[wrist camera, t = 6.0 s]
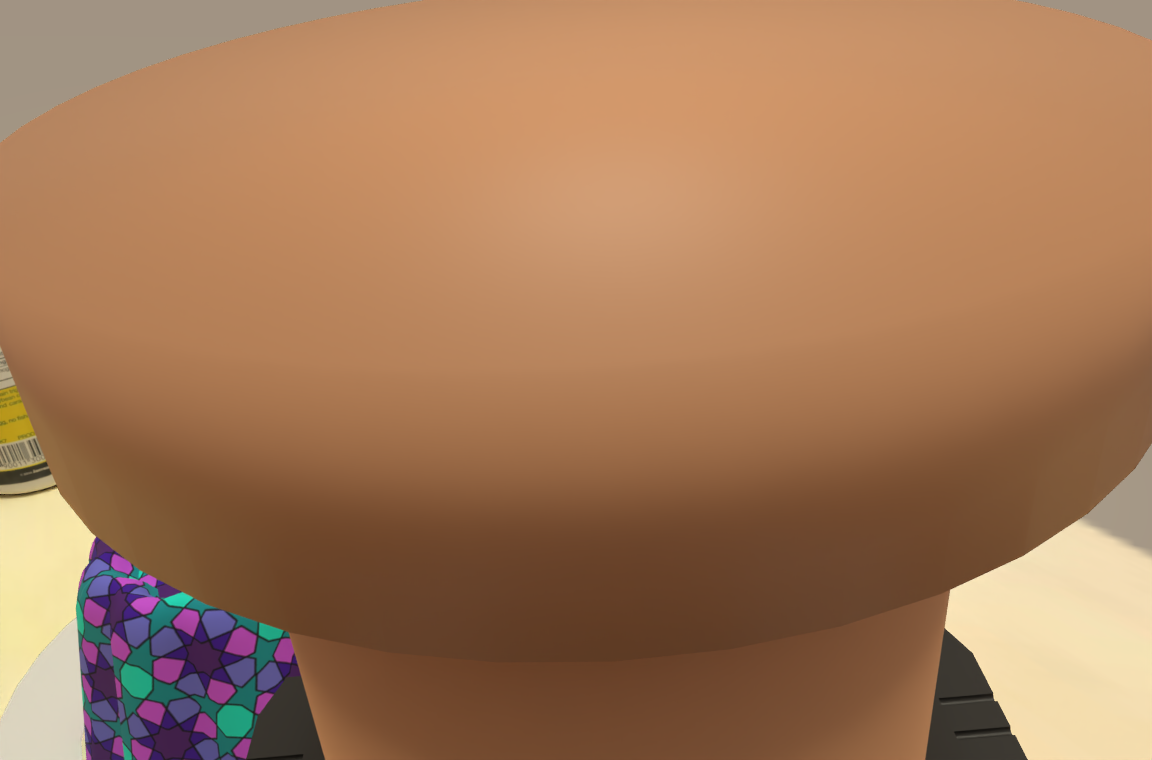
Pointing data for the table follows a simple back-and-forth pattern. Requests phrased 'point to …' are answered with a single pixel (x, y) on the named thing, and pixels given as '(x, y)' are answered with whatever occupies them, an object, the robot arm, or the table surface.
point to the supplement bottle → (18, 443)
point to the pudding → (145, 675)
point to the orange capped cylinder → (595, 351)
